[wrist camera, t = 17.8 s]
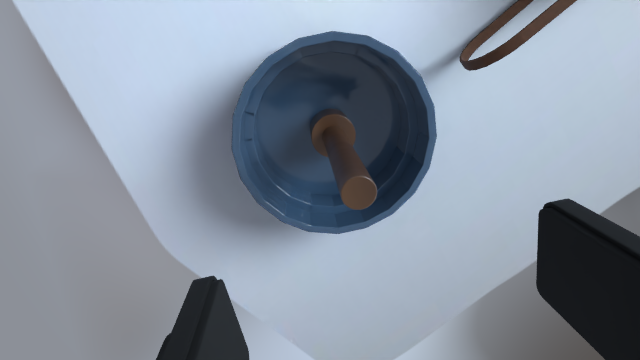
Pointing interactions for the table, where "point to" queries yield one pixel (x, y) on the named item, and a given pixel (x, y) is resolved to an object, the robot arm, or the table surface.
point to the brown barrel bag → (516, 40)
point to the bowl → (360, 108)
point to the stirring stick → (343, 157)
